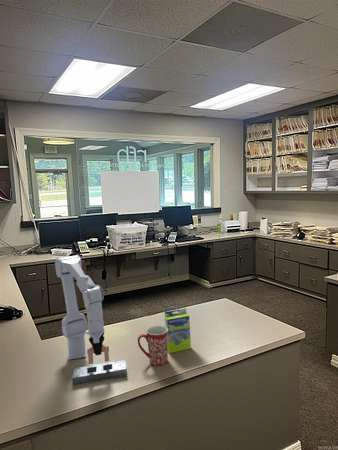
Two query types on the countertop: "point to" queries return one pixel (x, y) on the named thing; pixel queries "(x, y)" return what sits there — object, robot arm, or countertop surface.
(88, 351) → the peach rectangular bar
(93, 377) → the gray slotted board
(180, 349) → the box
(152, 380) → the countertop surface
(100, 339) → the robot arm
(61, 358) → the countertop surface
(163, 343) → the mug
